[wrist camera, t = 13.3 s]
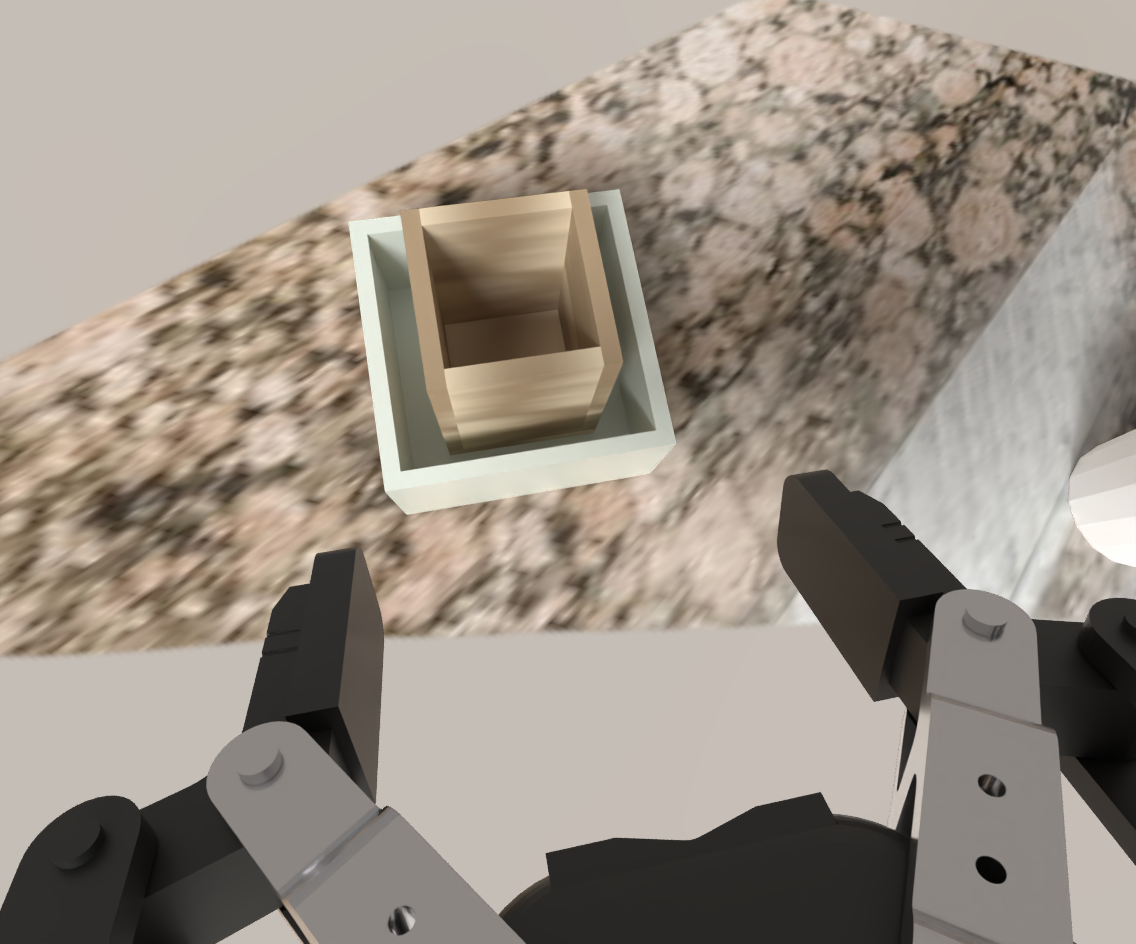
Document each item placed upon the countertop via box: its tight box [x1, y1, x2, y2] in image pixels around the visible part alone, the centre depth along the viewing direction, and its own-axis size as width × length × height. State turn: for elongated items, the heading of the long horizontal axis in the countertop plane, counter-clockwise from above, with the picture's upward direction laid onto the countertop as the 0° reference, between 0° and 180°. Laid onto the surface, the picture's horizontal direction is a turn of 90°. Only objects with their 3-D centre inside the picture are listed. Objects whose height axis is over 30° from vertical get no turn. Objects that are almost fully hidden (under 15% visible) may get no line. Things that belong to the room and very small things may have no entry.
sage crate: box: [349, 189, 676, 515], centre depth 28 cm, size 10×10×5 cm
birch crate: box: [400, 189, 623, 455], centre depth 26 cm, size 6×6×8 cm
